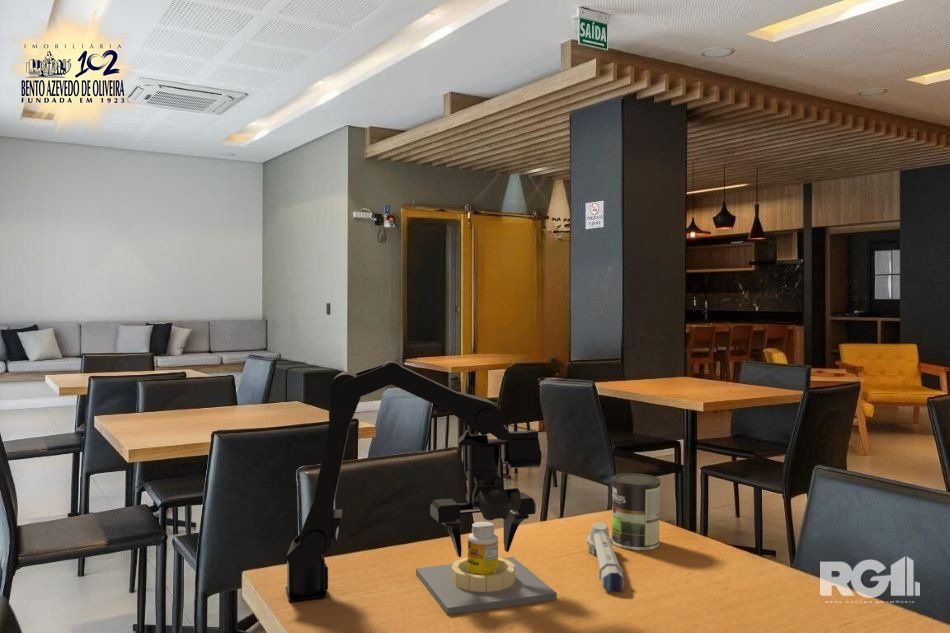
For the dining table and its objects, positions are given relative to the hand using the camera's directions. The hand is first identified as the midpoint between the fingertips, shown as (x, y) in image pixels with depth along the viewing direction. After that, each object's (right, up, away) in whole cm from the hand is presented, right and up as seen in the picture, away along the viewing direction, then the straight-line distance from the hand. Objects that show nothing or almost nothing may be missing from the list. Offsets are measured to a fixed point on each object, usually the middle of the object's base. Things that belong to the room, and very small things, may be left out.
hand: (483, 553), depth 137 cm
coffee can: (+33, -6, +26) cm, 43 cm away
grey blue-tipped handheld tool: (+24, -6, +10) cm, 27 cm away
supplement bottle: (0, -5, 0) cm, 5 cm away
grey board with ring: (0, -6, 0) cm, 6 cm away
